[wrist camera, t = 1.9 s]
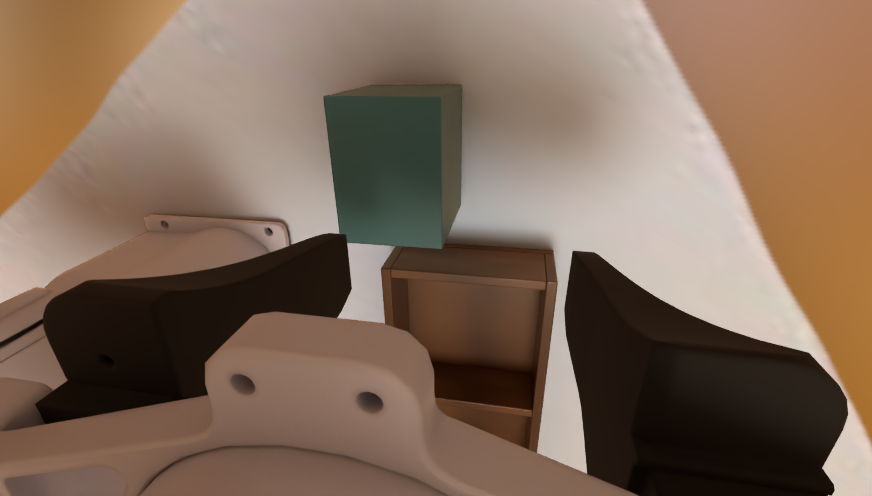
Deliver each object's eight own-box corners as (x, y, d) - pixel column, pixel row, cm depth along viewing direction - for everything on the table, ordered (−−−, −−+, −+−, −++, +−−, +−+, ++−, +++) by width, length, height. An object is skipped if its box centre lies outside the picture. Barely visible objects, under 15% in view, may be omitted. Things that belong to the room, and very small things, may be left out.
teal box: (379, 201, 23) (340, 242, 18) (371, 84, 21) (322, 95, 16) (461, 205, 23) (442, 249, 18) (462, 84, 20) (441, 96, 15)
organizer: (414, 516, 34) (403, 562, 31) (399, 240, 24) (380, 268, 21) (521, 535, 33) (520, 586, 30) (553, 250, 23) (557, 282, 20)
